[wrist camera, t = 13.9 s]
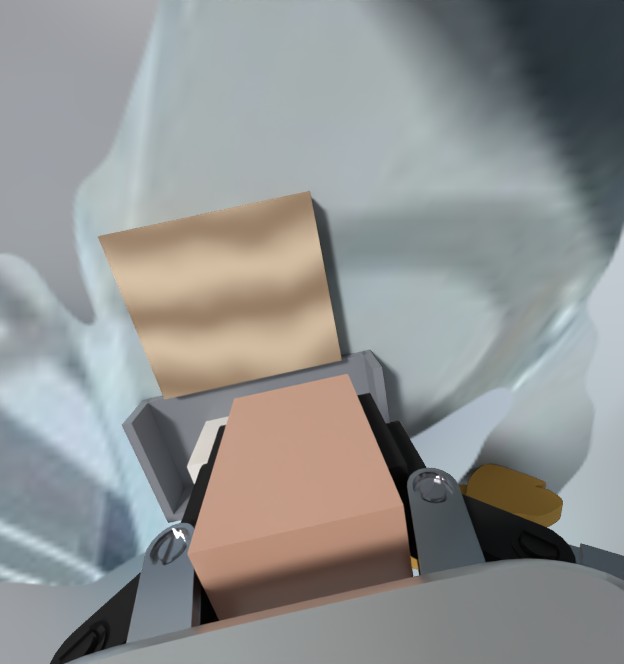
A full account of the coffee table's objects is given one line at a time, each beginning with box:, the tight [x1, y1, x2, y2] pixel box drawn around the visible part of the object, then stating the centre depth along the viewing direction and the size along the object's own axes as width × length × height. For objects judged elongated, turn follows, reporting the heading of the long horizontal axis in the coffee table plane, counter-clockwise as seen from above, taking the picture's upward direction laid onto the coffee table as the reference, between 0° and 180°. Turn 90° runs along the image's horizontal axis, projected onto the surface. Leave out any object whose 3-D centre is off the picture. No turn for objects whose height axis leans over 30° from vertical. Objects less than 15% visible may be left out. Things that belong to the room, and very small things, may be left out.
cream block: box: [187, 416, 229, 484], centre depth 27 cm, size 4×4×6 cm
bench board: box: [98, 191, 342, 399], centre depth 26 cm, size 14×16×2 cm
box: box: [122, 350, 390, 523], centre depth 29 cm, size 11×22×4 cm, turn 102°
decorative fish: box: [411, 464, 563, 569], centre depth 32 cm, size 22×3×10 cm, turn 99°
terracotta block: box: [187, 374, 413, 621], centre depth 10 cm, size 4×4×6 cm
